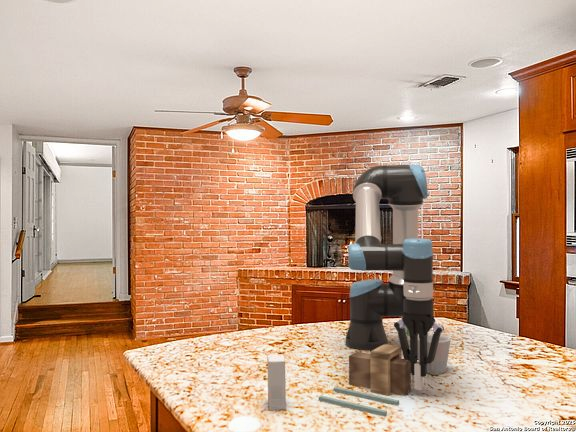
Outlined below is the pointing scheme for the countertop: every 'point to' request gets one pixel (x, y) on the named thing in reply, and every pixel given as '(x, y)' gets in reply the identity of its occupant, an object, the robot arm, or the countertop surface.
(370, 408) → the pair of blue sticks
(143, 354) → the countertop surface
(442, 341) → the mug
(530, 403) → the countertop surface
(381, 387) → the wooden arch block
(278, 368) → the skincare box
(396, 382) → the brown wooden block
